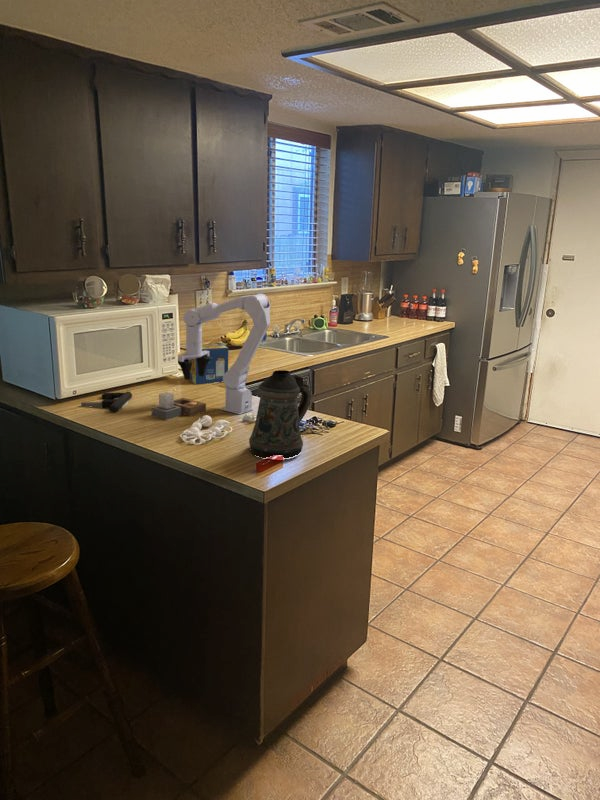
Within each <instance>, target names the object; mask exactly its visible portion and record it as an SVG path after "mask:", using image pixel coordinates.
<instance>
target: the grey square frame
mask: <svg viewBox="0 0 600 800" xmlns="http://www.w3.org/2000/svg"><path fill="white" fill-rule="evenodd" d="M151 416H152V417H153V418H158V419H160V420H161V419H162V420H164V421H168V420H171V418H172V419H173V418H174V417H175V418H178V417H181V416H182V414H181V407H178V406H174V408H173V409H170V410H163V409H160V408H159V405H156V406H153V407H151ZM175 418H174V419H175Z"/></svg>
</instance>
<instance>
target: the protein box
mask: <svg viewBox="0 0 600 800" xmlns="http://www.w3.org/2000/svg"><path fill="white" fill-rule="evenodd" d="M205 350H206V351H209V356H207V357H210V361H209V362H208V364H207V366H206V370H205V373H204V376H199V374H198V364H197V360H196V358H195V359H191V360H188V361H189V362H192V366H191V370H190V380H189V381H190V382H191V383H192V384H194V385H205V384H207V383H208V384H215V383H214V382H219V383H223V382H222V381H223V376H224V374H225V373H226V372H227V371H229V347H228V346H226V345H224V344H222V343H220V342H213V343H212V342H210V343H202V351H205Z"/></svg>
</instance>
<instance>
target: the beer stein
mask: <svg viewBox="0 0 600 800" xmlns="http://www.w3.org/2000/svg"><path fill="white" fill-rule="evenodd" d="M258 390H259V391H258V392H259V393H260V395H259V396H260V398H259V403H258V407H257V413H256V418H255V422H254V427H253V429H252V432H251V435H250V436H249V438H248V442H249V443H248V444H249V448H250V453H251V452H252V453H253V454H254V455H256V456H259V457H262V458H266V457H270V456H273V455H283V457H284V458H289V457H293V456H295V455H298V454H299V453H300V452H301V453H302V449H303V446H304V441H303V438H302V436H301V427H300V423H301V421H302V420H303V419H304V417H305V416H306V414H307V412H308V410H309V407H310V405H311V401H312V393H311V390H310V386H309V385H307V384H306V383H304V378H303V377H301V375H300V376H299V375H298V374H296V373H294V374H291V373H290V371H289V370H283V369H282V370H281V369H279V370H274V371H273V373H272V374H271V375H270V376H269V377H267V378H266V379H264V380H263V381H262V382H261V383H259V384H258ZM300 393H301V398H300V402H299V404H298V396H299V394H300ZM252 453H251V454H252ZM253 454H252V455H253ZM254 455H253V456H254ZM256 456H255V457H256Z"/></svg>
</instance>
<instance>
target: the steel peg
mask: <svg viewBox="0 0 600 800" xmlns="http://www.w3.org/2000/svg"><path fill="white" fill-rule="evenodd" d="M174 400H175V395H174V393H171V392H167V391H166V392H165V391H164V392H162V393H159V394H158V406H159V408H160V409H163V410H170V409H173V408H174Z"/></svg>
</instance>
